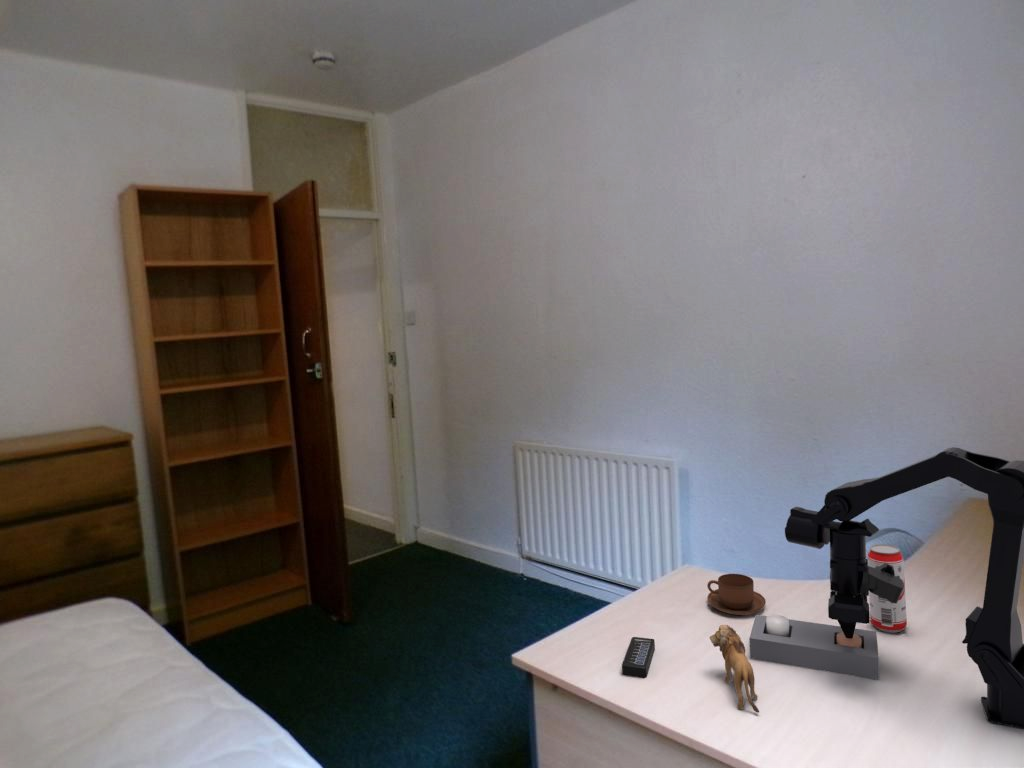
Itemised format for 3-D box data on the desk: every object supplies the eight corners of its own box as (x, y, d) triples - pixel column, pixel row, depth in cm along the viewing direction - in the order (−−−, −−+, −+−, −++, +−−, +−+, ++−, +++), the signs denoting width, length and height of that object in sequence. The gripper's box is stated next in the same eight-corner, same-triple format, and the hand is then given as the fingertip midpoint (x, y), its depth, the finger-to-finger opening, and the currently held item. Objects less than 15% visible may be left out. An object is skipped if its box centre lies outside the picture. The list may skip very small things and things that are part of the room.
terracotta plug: (861, 663, 116) (861, 644, 116) (836, 659, 118) (836, 640, 118) (861, 652, 120) (861, 634, 120) (837, 648, 122) (836, 630, 121)
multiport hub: (622, 677, 120) (621, 665, 119) (632, 647, 130) (632, 636, 130) (646, 680, 118) (645, 668, 118) (655, 649, 128) (654, 638, 128)
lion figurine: (708, 669, 120) (706, 622, 119) (736, 666, 120) (734, 619, 119) (743, 717, 105) (741, 664, 104) (775, 713, 105) (774, 660, 105)
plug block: (878, 680, 113) (878, 658, 112) (750, 658, 122) (749, 637, 122) (876, 651, 122) (876, 631, 121) (756, 633, 131) (755, 614, 131)
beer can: (870, 631, 129) (865, 552, 128) (871, 617, 134) (867, 542, 133) (907, 636, 126) (903, 555, 125) (906, 622, 131) (903, 544, 130)
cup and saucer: (709, 618, 139) (708, 590, 138) (706, 594, 151) (705, 568, 150) (769, 621, 136) (768, 592, 136) (761, 596, 148) (761, 570, 147)
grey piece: (788, 643, 122) (788, 625, 121) (765, 640, 123) (765, 622, 123) (790, 633, 125) (789, 616, 125) (767, 630, 127) (767, 613, 127)
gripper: (904, 580, 105) (905, 672, 107) (896, 541, 122) (897, 621, 123) (827, 571, 110) (829, 659, 112) (829, 535, 127) (831, 612, 128)
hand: (849, 637), depth 119 cm, fingers closed
